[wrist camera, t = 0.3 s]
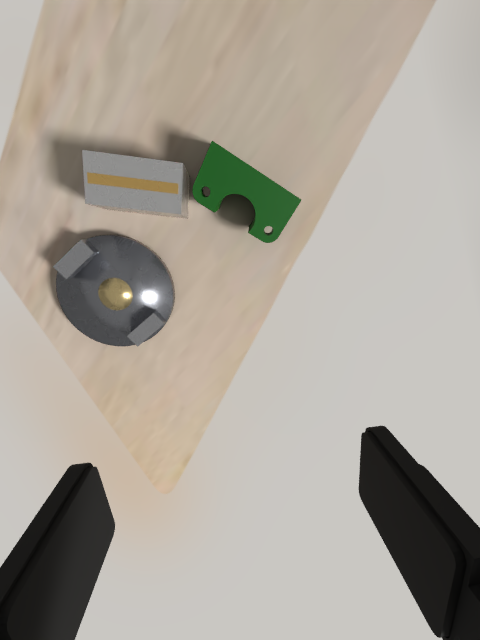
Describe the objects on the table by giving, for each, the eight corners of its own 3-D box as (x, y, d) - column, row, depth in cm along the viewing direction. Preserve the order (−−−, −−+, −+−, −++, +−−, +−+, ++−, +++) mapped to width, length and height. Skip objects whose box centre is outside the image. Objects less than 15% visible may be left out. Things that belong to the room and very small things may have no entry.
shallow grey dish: (38, 285, 35) (22, 289, 32) (116, 210, 33) (106, 207, 30) (122, 361, 39) (114, 370, 36) (196, 298, 37) (194, 302, 34)
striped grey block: (107, 166, 32) (81, 149, 26) (189, 176, 33) (182, 162, 27) (109, 210, 33) (84, 203, 27) (188, 218, 34) (181, 214, 28)
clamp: (215, 199, 38) (177, 188, 30) (235, 156, 35) (199, 132, 27) (281, 246, 36) (260, 247, 28) (308, 204, 33) (292, 193, 25)
